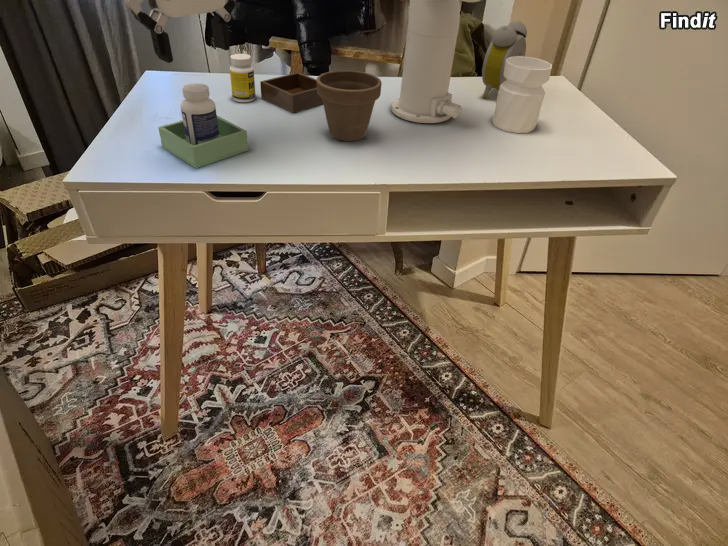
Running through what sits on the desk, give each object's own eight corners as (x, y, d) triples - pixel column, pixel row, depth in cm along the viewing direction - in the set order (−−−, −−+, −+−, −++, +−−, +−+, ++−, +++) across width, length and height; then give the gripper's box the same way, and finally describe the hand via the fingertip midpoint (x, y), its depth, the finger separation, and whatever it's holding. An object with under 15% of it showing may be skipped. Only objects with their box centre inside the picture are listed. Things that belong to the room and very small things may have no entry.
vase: (522, 137, 97) (539, 73, 89) (483, 123, 101) (497, 61, 94) (542, 125, 102) (561, 64, 94) (505, 112, 106) (519, 53, 99)
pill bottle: (226, 142, 86) (219, 85, 80) (209, 155, 82) (200, 95, 76) (199, 136, 87) (190, 79, 81) (180, 148, 83) (170, 89, 77)
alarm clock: (496, 85, 120) (511, 17, 111) (523, 92, 117) (541, 23, 108) (475, 98, 112) (489, 25, 103) (503, 105, 110) (520, 32, 100)
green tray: (248, 150, 85) (246, 130, 83) (195, 168, 79) (192, 147, 77) (214, 131, 90) (211, 112, 88) (162, 146, 84) (158, 126, 82)
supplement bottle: (253, 103, 102) (250, 60, 96) (230, 102, 102) (225, 59, 96) (257, 95, 105) (254, 53, 100) (235, 94, 105) (231, 52, 100)
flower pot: (316, 121, 97) (316, 67, 90) (374, 122, 98) (378, 69, 91) (316, 146, 88) (316, 89, 81) (380, 148, 89) (385, 91, 83)
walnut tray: (330, 101, 105) (330, 84, 103) (293, 113, 99) (292, 95, 97) (298, 88, 110) (298, 72, 108) (261, 98, 104) (260, 81, 102)
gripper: (121, -80, 58) (154, 72, 68) (244, -84, 68) (256, 49, 78) (91, -86, 61) (128, 59, 72) (212, -89, 71) (228, 39, 82)
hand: (195, 54), depth 75 cm, fingers open, 9 cm apart
